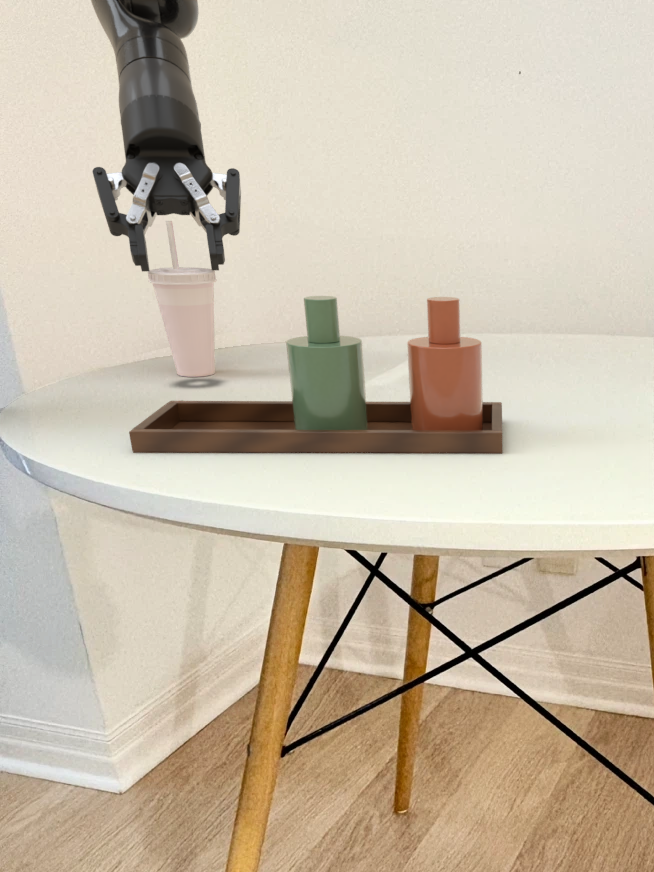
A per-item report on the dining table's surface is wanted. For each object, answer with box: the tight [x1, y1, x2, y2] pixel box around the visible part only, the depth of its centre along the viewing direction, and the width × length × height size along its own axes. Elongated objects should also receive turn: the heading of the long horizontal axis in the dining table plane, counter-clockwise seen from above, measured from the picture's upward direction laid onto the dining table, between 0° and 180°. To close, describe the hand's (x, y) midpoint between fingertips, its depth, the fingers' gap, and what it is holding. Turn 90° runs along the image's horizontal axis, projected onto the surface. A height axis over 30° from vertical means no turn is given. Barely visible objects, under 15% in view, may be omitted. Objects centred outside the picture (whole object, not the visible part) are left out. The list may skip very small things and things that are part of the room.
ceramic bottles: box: [285, 295, 484, 430], centre depth 76 cm, size 15×6×10 cm, turn 92°
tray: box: [128, 400, 503, 455], centre depth 78 cm, size 27×11×2 cm, turn 92°
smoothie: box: [147, 220, 218, 378], centre depth 99 cm, size 6×6×14 cm
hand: (180, 264), depth 96 cm, fingers closed on smoothie, 6 cm apart
